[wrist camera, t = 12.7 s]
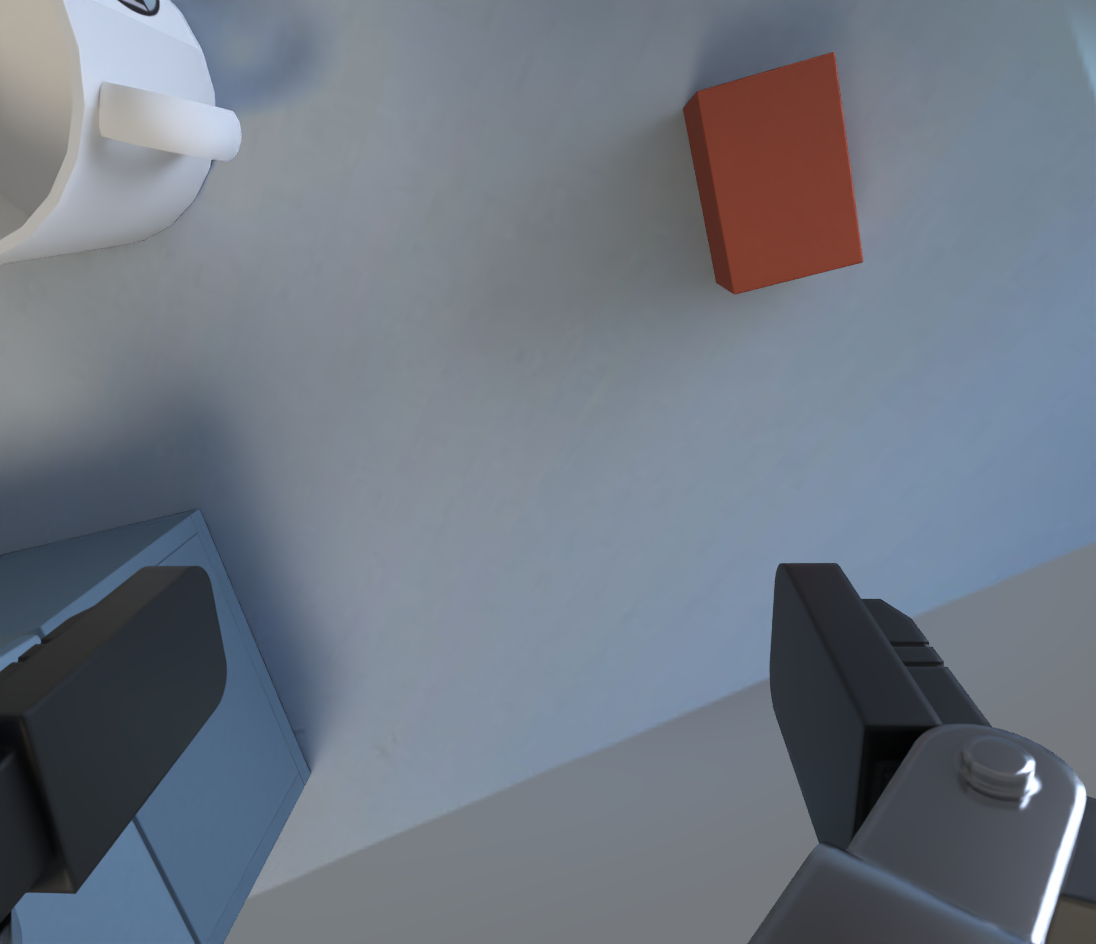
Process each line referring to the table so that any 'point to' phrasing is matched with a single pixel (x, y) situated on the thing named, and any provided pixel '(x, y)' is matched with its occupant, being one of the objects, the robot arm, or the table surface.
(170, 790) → the blue-grey box
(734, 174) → the terracotta brick block
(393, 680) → the table surface
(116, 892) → the box lid
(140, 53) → the mug
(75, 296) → the table surface
